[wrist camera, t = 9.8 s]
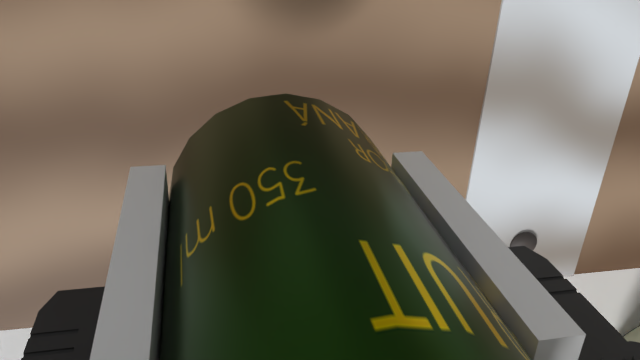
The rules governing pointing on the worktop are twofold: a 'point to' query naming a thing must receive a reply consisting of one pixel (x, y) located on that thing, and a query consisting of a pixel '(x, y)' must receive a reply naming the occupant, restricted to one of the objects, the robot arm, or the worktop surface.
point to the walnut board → (331, 87)
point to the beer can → (310, 249)
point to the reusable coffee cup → (633, 335)
